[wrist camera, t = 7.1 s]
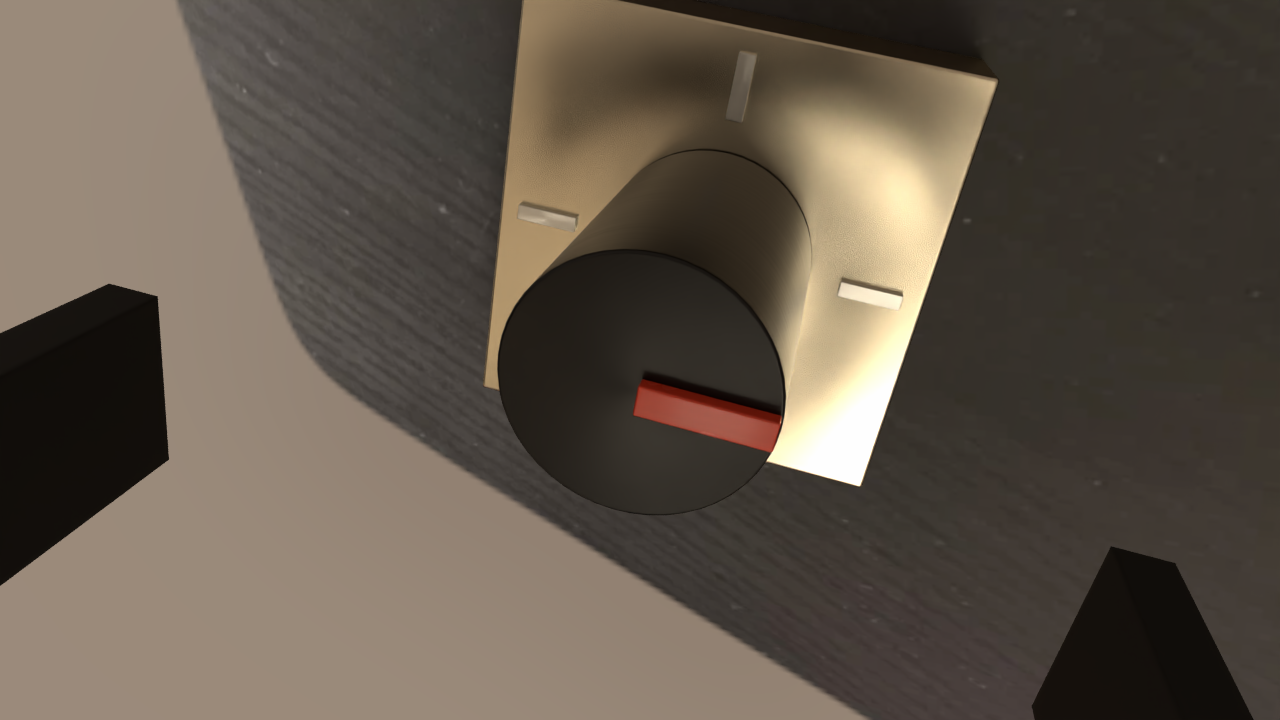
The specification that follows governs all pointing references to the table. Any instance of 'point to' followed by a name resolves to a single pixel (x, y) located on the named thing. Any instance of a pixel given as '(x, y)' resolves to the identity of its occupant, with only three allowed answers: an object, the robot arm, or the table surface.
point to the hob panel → (774, 140)
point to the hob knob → (663, 338)
